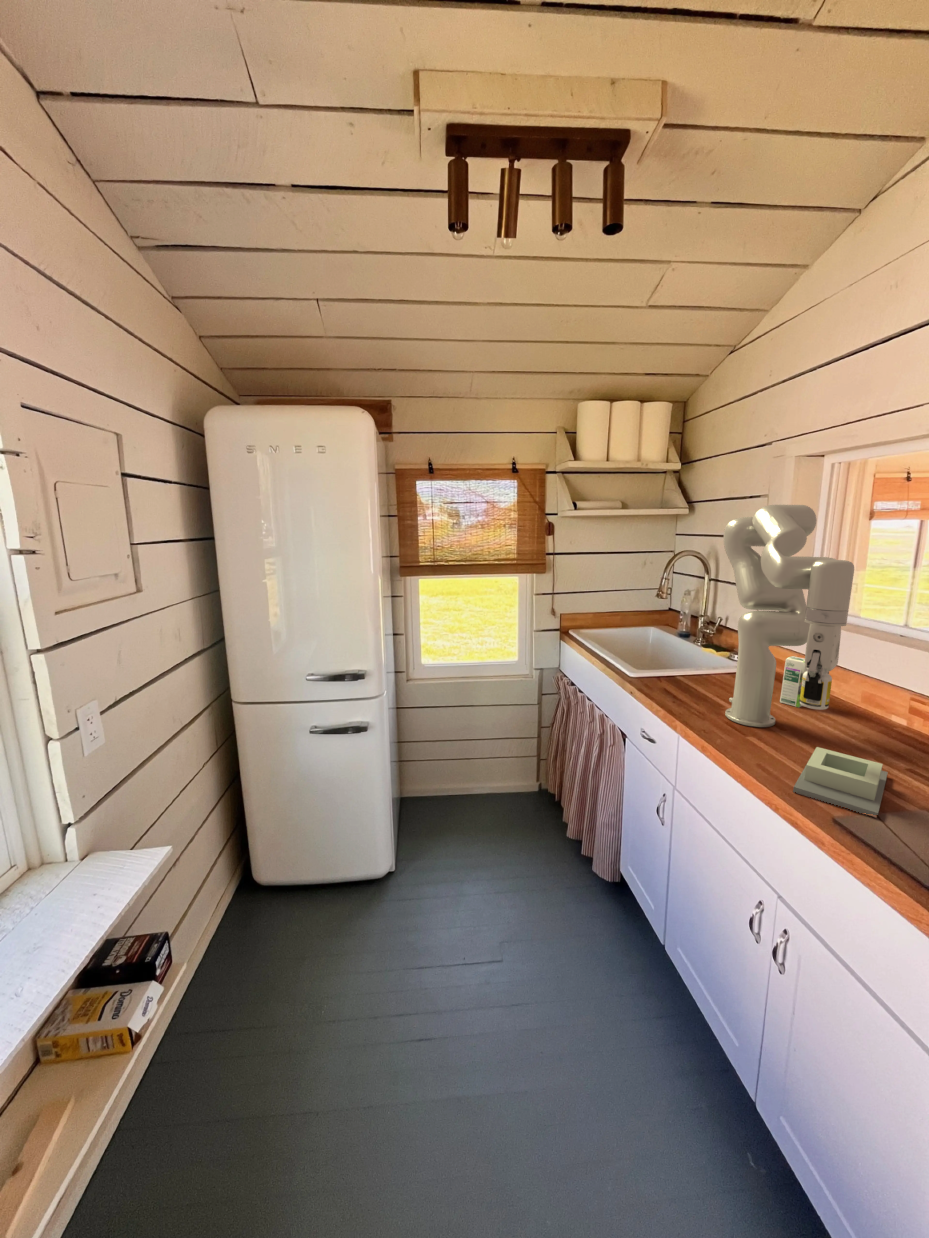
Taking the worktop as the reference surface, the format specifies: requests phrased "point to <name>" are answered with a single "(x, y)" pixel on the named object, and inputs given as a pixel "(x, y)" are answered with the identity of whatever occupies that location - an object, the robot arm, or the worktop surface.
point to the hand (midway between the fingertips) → (815, 695)
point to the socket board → (841, 795)
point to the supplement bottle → (825, 692)
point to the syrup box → (792, 681)
